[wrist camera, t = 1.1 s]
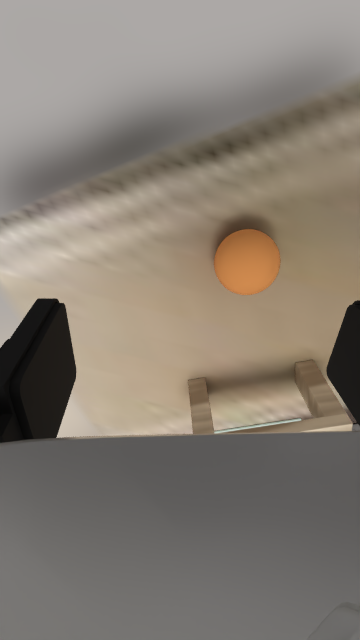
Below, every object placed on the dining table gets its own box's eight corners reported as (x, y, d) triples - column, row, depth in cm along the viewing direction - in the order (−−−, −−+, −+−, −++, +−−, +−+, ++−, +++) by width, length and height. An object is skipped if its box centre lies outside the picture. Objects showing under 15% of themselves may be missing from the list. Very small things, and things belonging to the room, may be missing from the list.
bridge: (188, 380, 38) (194, 447, 30) (313, 359, 37) (352, 423, 29) (192, 398, 40) (199, 467, 32) (312, 379, 39) (349, 444, 31)
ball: (268, 216, 29) (289, 234, 24) (270, 273, 31) (289, 300, 27) (206, 227, 29) (215, 248, 24) (214, 283, 32) (223, 311, 27)
